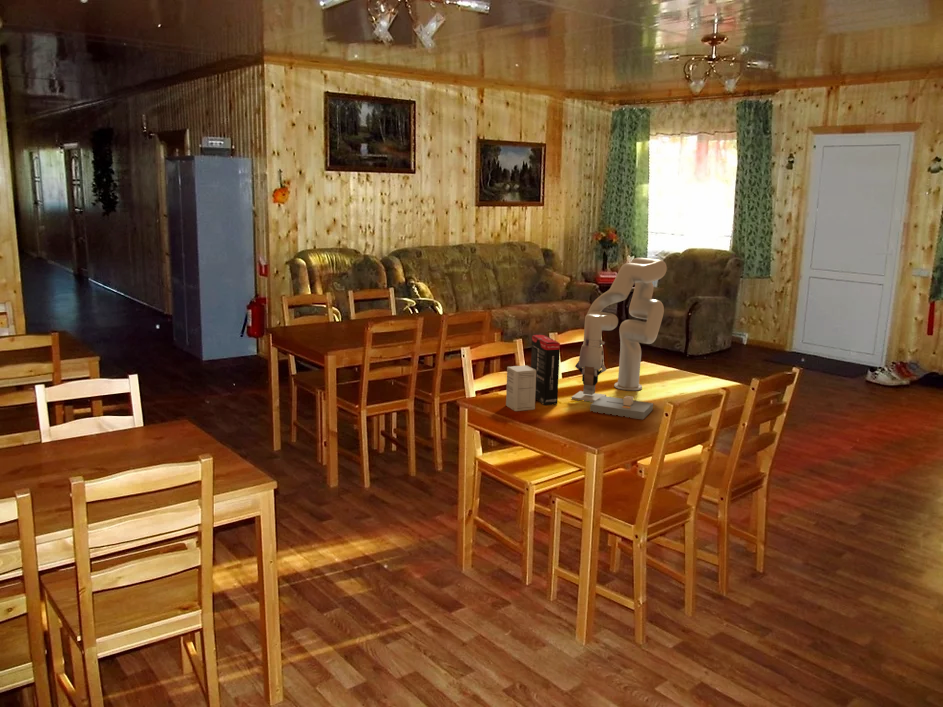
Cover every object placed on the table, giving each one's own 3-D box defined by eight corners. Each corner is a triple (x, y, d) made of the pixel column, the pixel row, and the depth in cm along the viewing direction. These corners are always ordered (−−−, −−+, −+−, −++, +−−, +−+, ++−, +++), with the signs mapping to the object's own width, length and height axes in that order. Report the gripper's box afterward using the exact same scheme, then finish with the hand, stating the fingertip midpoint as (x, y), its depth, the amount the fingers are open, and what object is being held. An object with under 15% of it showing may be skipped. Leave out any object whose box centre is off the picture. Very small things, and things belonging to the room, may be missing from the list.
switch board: (601, 402, 344) (602, 395, 344) (652, 410, 335) (653, 402, 334) (590, 411, 330) (590, 404, 329) (643, 419, 321) (643, 412, 320)
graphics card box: (558, 405, 338) (562, 341, 332) (543, 406, 336) (546, 342, 330) (542, 394, 354) (545, 334, 348) (528, 395, 352) (531, 334, 346)
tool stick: (586, 391, 353) (588, 360, 350) (594, 392, 351) (596, 361, 348) (583, 393, 349) (585, 362, 346) (592, 394, 348) (594, 363, 345)
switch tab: (625, 402, 333) (626, 395, 333) (632, 403, 332) (633, 396, 331) (623, 404, 330) (623, 397, 329) (630, 405, 328) (630, 398, 328)
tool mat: (579, 393, 359) (580, 391, 358) (606, 396, 353) (606, 394, 353) (571, 399, 348) (571, 397, 348) (597, 403, 343) (598, 401, 343)
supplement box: (525, 403, 339) (527, 364, 335) (535, 409, 330) (537, 369, 327) (505, 405, 335) (506, 366, 331) (514, 411, 327) (516, 371, 323)
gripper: (613, 343, 345) (610, 384, 349) (576, 339, 352) (574, 379, 356) (608, 346, 339) (605, 388, 343) (571, 342, 346) (568, 383, 350)
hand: (589, 383), depth 349 cm, fingers closed on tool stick, 3 cm apart
